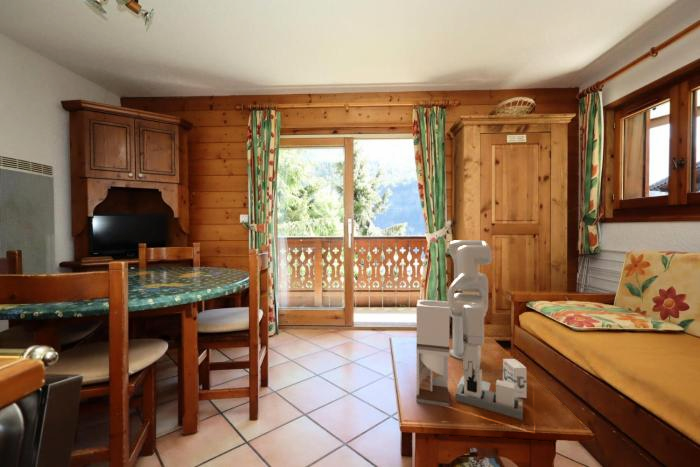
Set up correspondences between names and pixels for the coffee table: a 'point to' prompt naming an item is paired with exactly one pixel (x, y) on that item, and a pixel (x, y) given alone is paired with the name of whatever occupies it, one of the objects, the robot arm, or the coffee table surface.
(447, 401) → the display case
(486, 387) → the mat
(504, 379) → the ink box
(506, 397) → the off-white rectangular block
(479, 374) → the plug
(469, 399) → the power strip
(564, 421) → the coffee table surface
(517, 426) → the coffee table surface
